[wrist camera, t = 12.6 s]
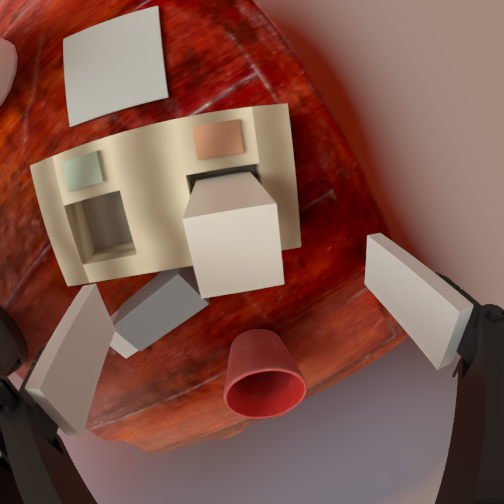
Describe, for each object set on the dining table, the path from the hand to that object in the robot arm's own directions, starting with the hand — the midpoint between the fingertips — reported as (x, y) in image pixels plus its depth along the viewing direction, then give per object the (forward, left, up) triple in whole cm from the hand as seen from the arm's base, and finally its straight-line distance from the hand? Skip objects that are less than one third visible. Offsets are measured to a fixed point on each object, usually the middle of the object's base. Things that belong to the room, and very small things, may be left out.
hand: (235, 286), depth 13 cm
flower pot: (+1, -23, -21) cm, 31 cm away
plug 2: (0, 0, -18) cm, 18 cm away
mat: (-10, +18, -20) cm, 29 cm away
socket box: (-6, +2, -20) cm, 21 cm away
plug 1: (-11, -13, -20) cm, 27 cm away
